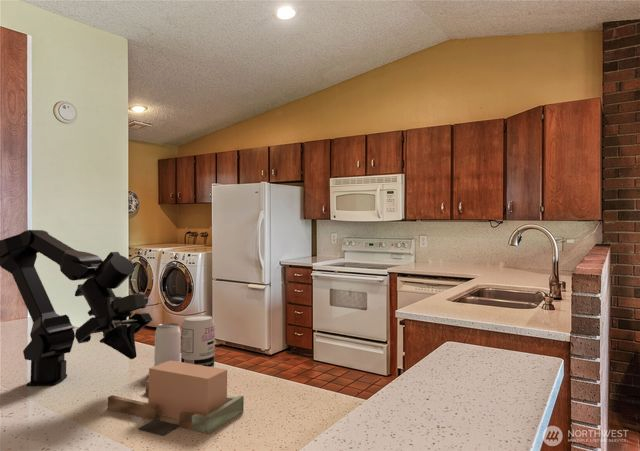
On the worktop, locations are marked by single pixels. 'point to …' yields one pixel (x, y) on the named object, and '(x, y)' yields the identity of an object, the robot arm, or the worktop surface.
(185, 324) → the supplement can
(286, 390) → the worktop surface
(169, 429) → the lane
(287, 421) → the worktop surface
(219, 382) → the brick
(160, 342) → the can
